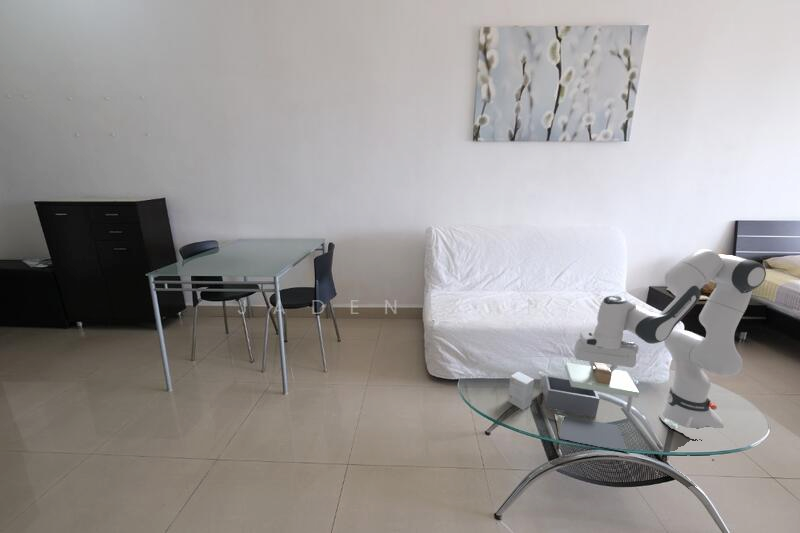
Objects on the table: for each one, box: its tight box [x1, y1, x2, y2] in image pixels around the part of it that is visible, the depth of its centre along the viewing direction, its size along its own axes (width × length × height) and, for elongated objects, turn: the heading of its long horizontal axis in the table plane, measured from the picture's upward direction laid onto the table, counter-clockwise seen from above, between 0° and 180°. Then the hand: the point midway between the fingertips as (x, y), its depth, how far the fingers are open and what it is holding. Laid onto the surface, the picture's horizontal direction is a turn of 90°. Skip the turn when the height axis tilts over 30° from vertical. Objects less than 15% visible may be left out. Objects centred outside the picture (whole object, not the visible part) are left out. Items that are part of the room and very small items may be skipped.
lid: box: [564, 362, 640, 398], centre depth 134 cm, size 22×14×6 cm, turn 74°
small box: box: [507, 371, 535, 411], centre depth 156 cm, size 8×6×13 cm
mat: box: [557, 415, 628, 449], centre depth 141 cm, size 24×15×1 cm, turn 74°
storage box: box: [542, 374, 600, 418], centre depth 157 cm, size 20×12×9 cm, turn 74°
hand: (600, 372), depth 134 cm, fingers closed on lid, 4 cm apart
